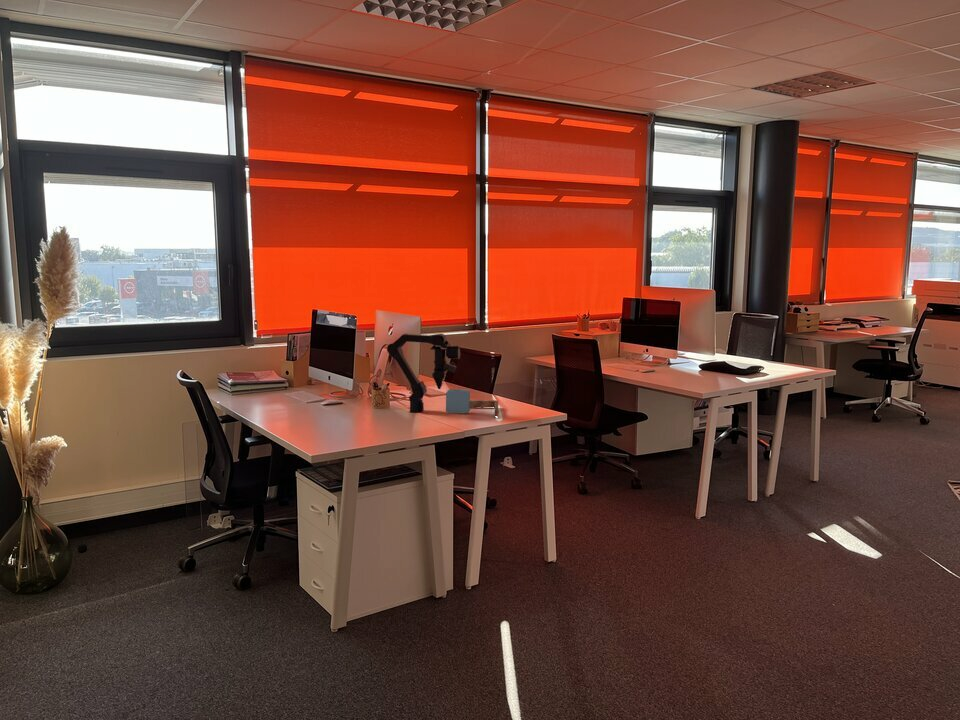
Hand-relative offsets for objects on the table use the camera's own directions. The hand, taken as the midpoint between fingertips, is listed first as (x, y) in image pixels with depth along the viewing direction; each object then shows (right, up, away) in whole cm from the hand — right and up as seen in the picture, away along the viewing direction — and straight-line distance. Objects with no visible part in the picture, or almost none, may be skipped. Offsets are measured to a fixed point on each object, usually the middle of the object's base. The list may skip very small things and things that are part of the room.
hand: (439, 388), depth 363 cm
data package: (+9, -13, +2) cm, 16 cm away
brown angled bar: (+20, -13, +2) cm, 24 cm away
